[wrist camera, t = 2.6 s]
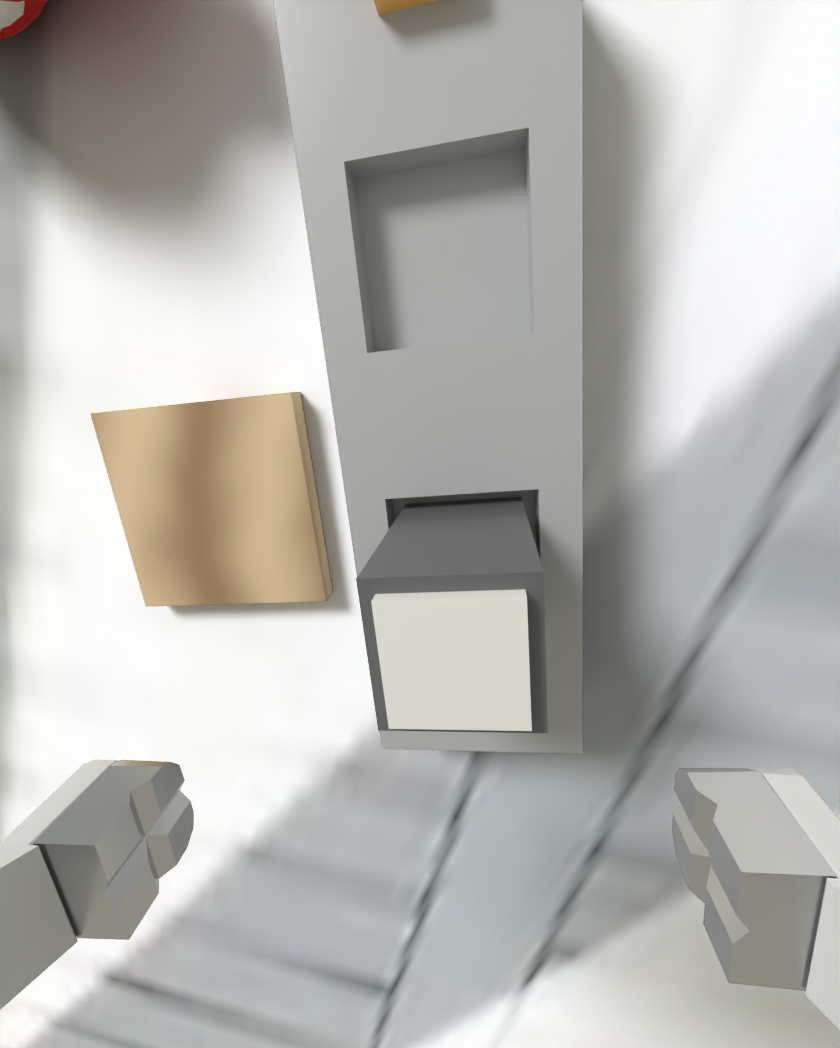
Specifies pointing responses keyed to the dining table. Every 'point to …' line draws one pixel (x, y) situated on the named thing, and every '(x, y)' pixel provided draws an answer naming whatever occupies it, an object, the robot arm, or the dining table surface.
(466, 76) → the power strip
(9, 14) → the white red lumpy piece
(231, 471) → the cork coaster
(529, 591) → the block
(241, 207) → the dining table surface
